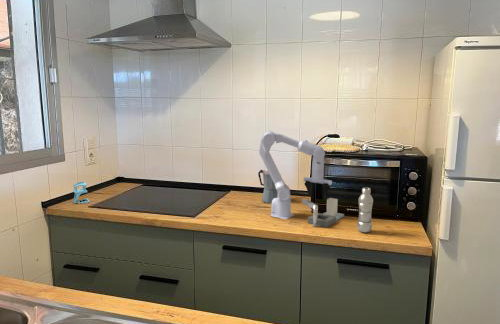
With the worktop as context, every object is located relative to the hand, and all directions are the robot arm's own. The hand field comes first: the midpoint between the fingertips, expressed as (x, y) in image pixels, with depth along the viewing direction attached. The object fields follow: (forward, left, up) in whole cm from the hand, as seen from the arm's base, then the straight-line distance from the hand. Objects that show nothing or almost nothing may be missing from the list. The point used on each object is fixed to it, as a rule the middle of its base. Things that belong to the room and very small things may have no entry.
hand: (317, 197), depth 190 cm
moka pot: (-36, +10, -11) cm, 39 cm away
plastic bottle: (+27, -6, -11) cm, 30 cm away
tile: (+7, +4, -10) cm, 13 cm away
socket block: (+7, -7, -10) cm, 14 cm away
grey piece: (+2, -11, -10) cm, 15 cm away
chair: (-122, -57, -11) cm, 135 cm away
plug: (+7, +4, -9) cm, 12 cm away
